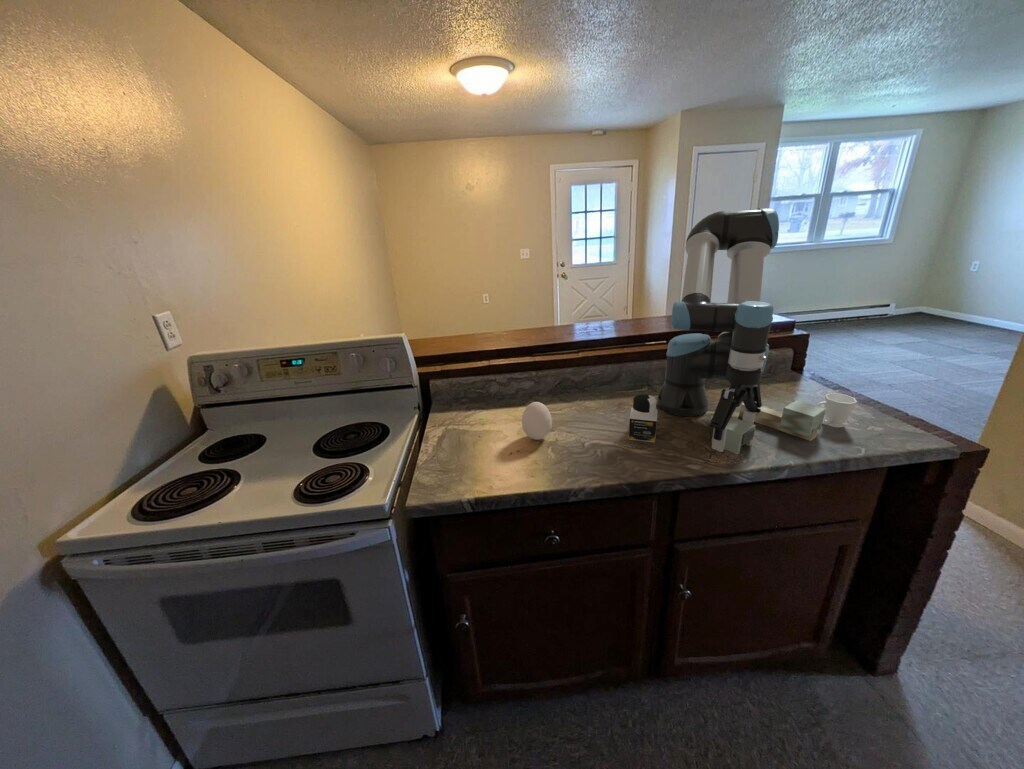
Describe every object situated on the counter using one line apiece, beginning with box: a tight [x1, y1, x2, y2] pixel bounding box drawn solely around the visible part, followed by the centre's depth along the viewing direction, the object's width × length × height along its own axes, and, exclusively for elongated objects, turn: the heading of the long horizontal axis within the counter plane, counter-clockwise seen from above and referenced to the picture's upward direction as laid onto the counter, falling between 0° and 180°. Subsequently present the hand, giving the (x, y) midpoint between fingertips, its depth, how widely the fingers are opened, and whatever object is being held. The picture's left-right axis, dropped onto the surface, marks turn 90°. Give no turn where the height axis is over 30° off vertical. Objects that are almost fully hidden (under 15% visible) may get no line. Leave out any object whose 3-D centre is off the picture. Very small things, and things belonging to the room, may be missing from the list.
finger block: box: [711, 416, 756, 455], centre depth 105 cm, size 7×7×6 cm
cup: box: [815, 392, 858, 428], centre depth 111 cm, size 7×10×8 cm
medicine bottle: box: [628, 393, 659, 443], centre depth 111 cm, size 7×7×12 cm
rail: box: [738, 399, 826, 442], centre depth 112 cm, size 19×7×8 cm, turn 34°
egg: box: [521, 401, 553, 441], centre depth 113 cm, size 9×9×11 cm
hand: (732, 441), depth 106 cm, fingers open, 13 cm apart
